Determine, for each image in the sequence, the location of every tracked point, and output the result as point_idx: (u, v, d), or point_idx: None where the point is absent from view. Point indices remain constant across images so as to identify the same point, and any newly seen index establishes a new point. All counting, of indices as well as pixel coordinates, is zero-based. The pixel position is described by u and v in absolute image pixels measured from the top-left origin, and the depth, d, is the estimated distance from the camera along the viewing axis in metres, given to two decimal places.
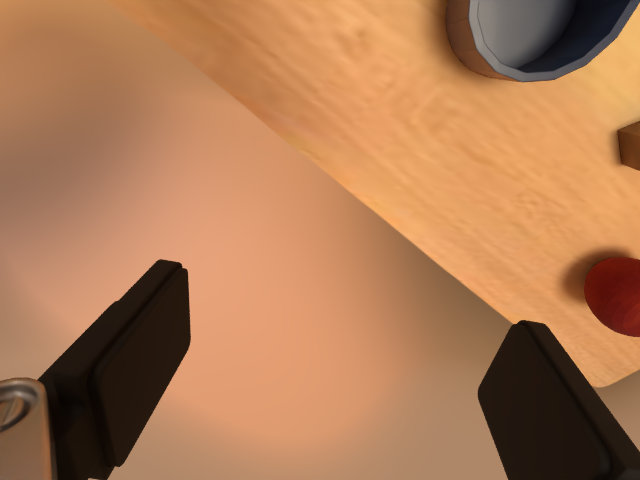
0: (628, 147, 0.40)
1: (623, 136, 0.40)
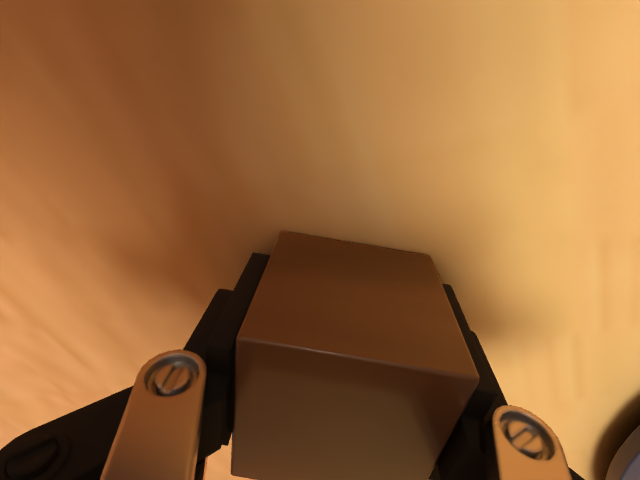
0: None
1: None
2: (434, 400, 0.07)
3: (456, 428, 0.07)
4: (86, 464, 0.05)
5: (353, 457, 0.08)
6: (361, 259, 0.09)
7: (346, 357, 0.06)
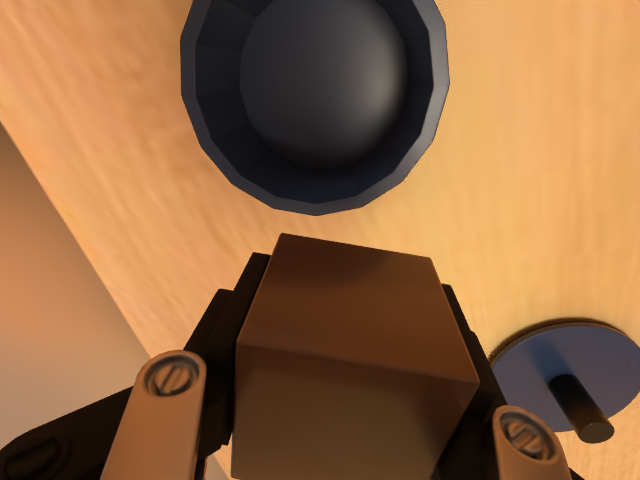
0: None
1: None
2: (434, 403, 0.07)
3: (456, 428, 0.07)
4: (86, 464, 0.05)
5: (353, 461, 0.08)
6: (360, 261, 0.09)
7: (347, 360, 0.06)
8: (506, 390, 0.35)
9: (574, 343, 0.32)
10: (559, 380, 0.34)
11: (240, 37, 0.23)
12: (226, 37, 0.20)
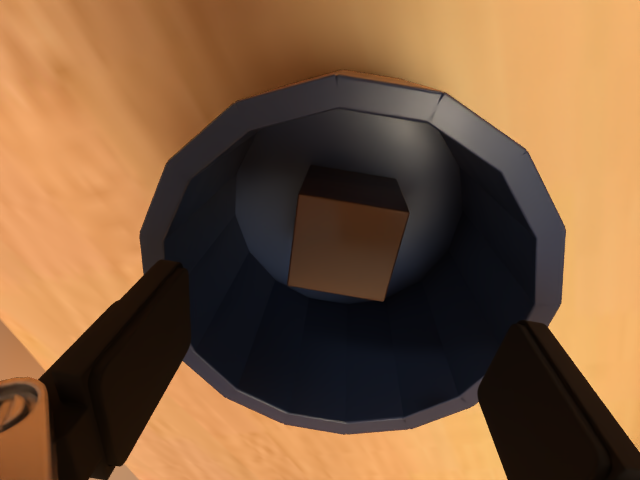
0: None
1: None
2: (389, 226, 0.14)
3: None
4: None
5: (352, 267, 0.15)
6: (356, 177, 0.17)
7: (348, 202, 0.14)
8: None
9: None
10: None
11: (234, 165, 0.16)
12: (215, 185, 0.14)
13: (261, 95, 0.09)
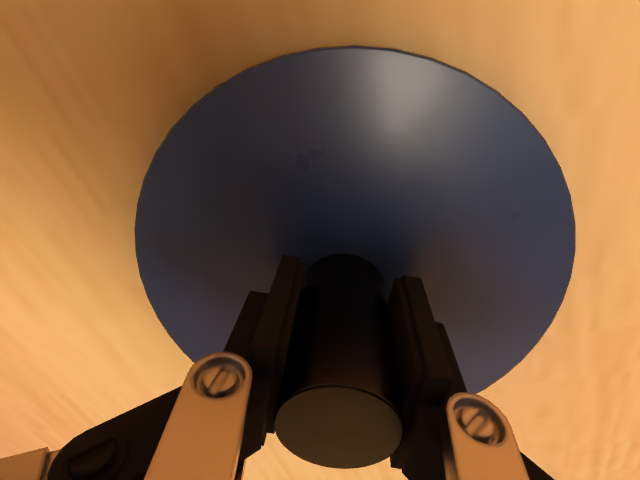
0: None
1: None
2: None
3: (415, 415, 0.07)
4: (144, 464, 0.06)
5: None
6: None
7: None
8: (204, 312, 0.13)
9: (327, 133, 0.10)
10: (314, 270, 0.11)
11: None
12: None
13: None
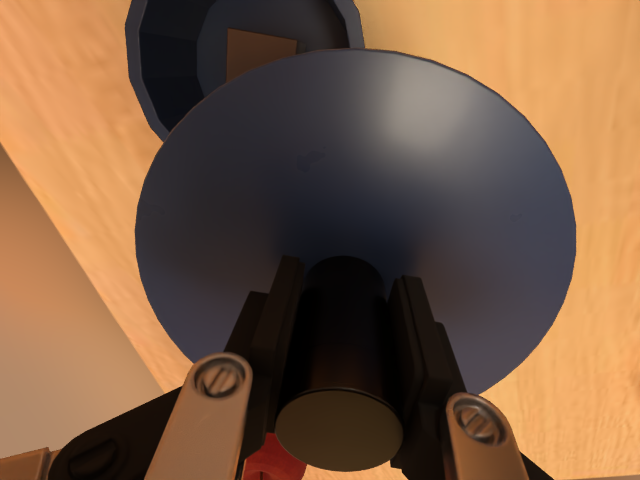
0: None
1: None
2: (286, 51, 0.22)
3: (415, 415, 0.07)
4: (144, 464, 0.06)
5: None
6: None
7: (259, 33, 0.22)
8: (204, 314, 0.13)
9: (328, 135, 0.10)
10: (314, 272, 0.11)
11: (192, 26, 0.24)
12: (175, 25, 0.22)
13: None
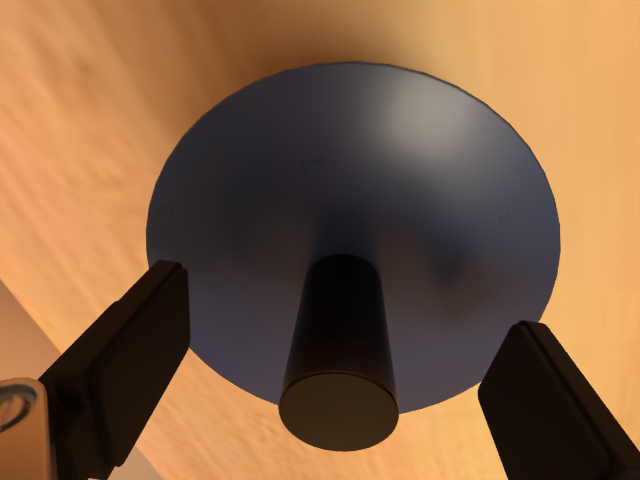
0: None
1: None
2: None
3: None
4: None
5: None
6: None
7: None
8: (211, 310, 0.14)
9: (328, 141, 0.10)
10: (315, 269, 0.12)
11: None
12: None
13: None
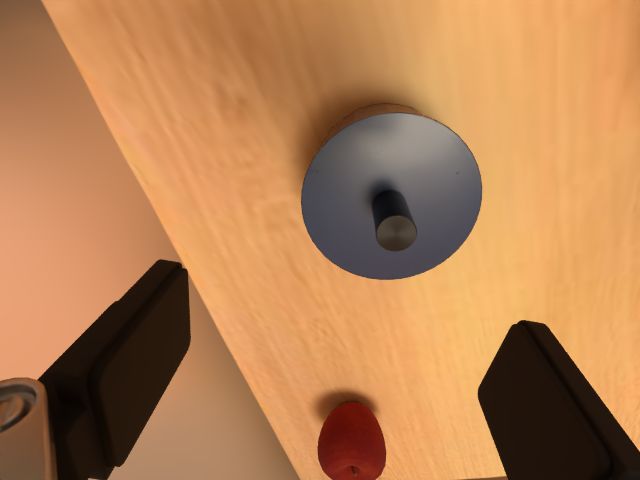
0: None
1: None
2: None
3: None
4: None
5: None
6: None
7: None
8: (326, 219, 0.30)
9: (387, 141, 0.26)
10: (378, 196, 0.28)
11: None
12: None
13: None
